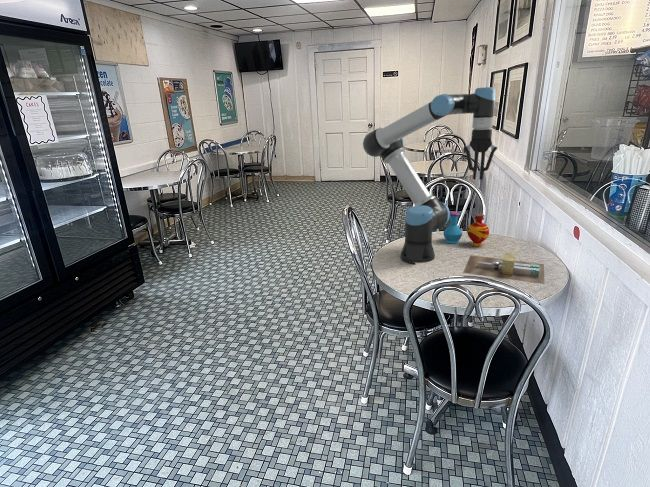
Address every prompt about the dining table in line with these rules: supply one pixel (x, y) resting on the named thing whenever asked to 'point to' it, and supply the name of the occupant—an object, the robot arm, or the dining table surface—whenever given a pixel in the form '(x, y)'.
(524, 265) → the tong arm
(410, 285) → the dining table surface
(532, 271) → the tongs fixed arm
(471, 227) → the red yellow vase
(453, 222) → the blue vase
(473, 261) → the walnut board
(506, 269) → the translucent yellow block
